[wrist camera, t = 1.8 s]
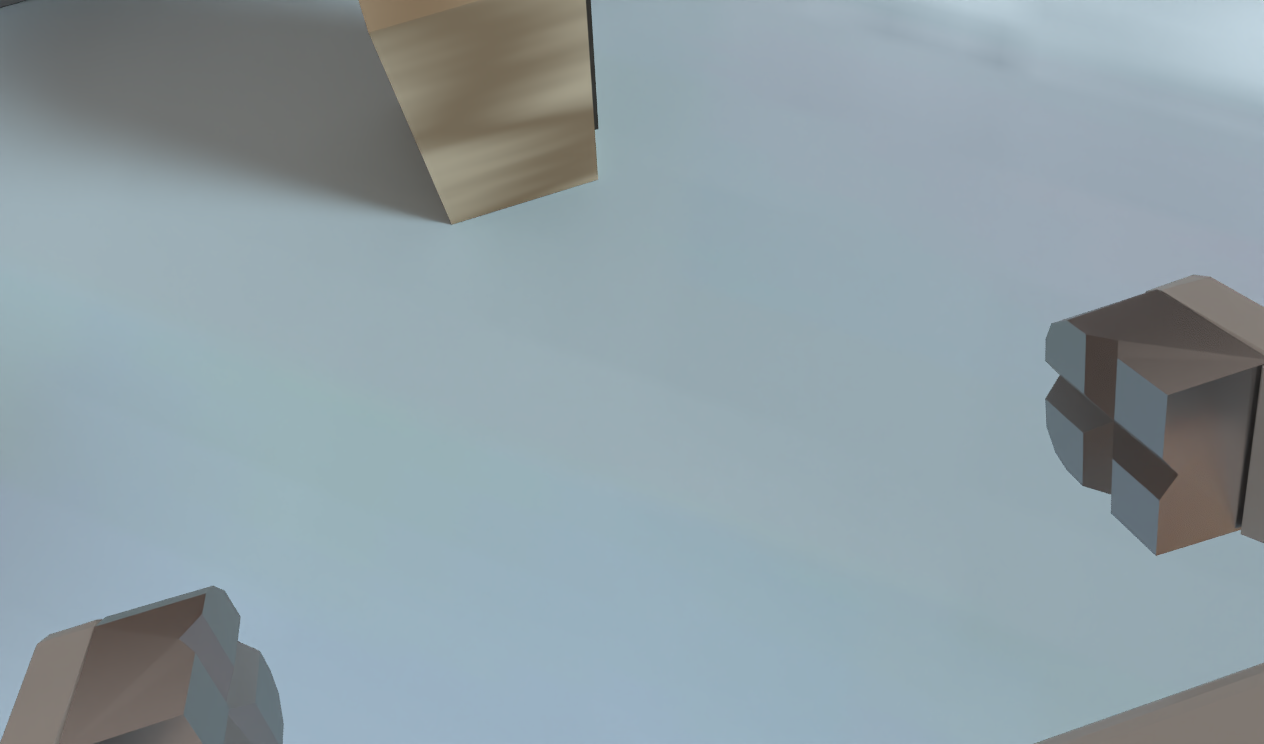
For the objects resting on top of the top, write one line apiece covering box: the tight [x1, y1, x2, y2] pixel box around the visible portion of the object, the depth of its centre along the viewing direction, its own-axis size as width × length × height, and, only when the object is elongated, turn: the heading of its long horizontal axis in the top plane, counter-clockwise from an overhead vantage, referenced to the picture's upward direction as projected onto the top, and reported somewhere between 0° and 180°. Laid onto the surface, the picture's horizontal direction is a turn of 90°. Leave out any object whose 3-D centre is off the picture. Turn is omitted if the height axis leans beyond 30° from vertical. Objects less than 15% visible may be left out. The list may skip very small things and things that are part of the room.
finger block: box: [359, 0, 598, 224], centre depth 24 cm, size 4×4×9 cm
